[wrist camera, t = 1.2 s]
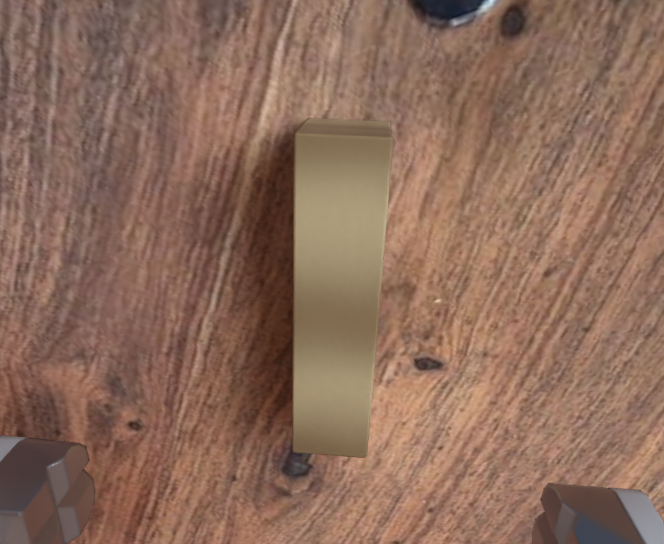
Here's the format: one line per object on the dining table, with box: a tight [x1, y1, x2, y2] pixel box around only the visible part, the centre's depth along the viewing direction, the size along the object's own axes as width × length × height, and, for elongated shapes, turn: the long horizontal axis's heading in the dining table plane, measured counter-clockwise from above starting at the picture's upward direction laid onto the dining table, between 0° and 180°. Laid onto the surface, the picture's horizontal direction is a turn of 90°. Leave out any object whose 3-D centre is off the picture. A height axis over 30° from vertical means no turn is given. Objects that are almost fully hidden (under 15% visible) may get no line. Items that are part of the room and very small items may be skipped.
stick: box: [292, 118, 393, 458], centre depth 15 cm, size 10×2×3 cm, turn 178°
